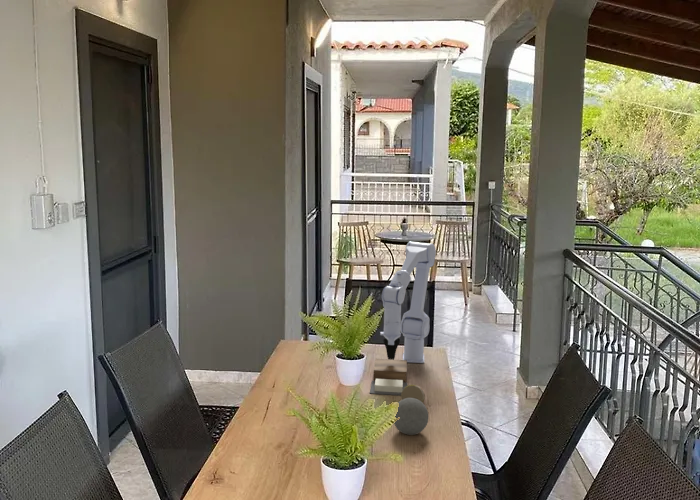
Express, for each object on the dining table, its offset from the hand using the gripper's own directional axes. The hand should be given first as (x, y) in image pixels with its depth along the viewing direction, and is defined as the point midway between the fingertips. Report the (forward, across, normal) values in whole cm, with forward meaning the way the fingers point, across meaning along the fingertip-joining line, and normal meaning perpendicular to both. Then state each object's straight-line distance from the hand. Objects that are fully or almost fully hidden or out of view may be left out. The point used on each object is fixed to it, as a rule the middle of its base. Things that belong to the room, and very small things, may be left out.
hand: (391, 358), depth 227 cm
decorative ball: (+6, +45, +7) cm, 46 cm away
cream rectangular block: (+3, +13, 0) cm, 14 cm away
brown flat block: (+6, +1, 0) cm, 6 cm away
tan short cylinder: (+6, +24, +8) cm, 26 cm away
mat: (+6, +13, 0) cm, 14 cm away
